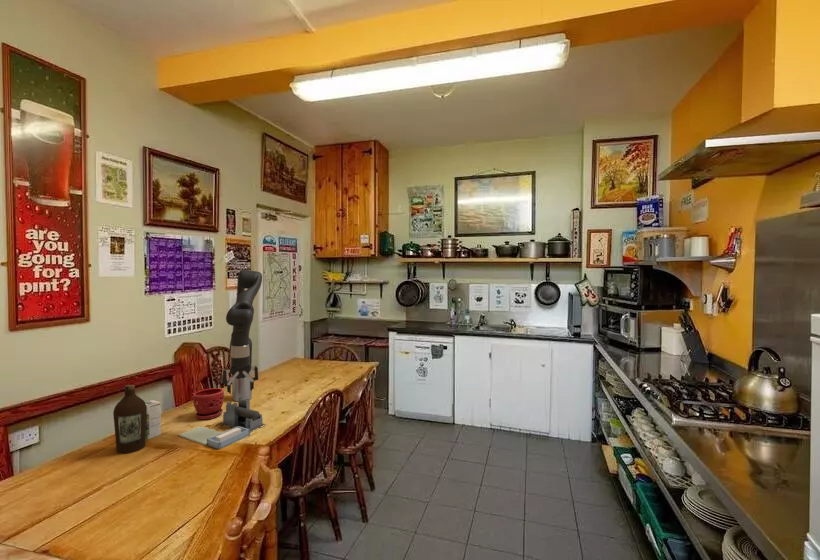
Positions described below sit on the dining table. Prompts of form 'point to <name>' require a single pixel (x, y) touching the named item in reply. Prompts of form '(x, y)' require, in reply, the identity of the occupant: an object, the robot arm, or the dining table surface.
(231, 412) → the clamp rack
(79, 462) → the dining table surface
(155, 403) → the syrup box
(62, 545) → the dining table surface
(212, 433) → the mat
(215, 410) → the plant pot
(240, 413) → the dark grey cylinder
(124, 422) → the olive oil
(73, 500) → the dining table surface
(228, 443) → the tray
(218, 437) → the bar
